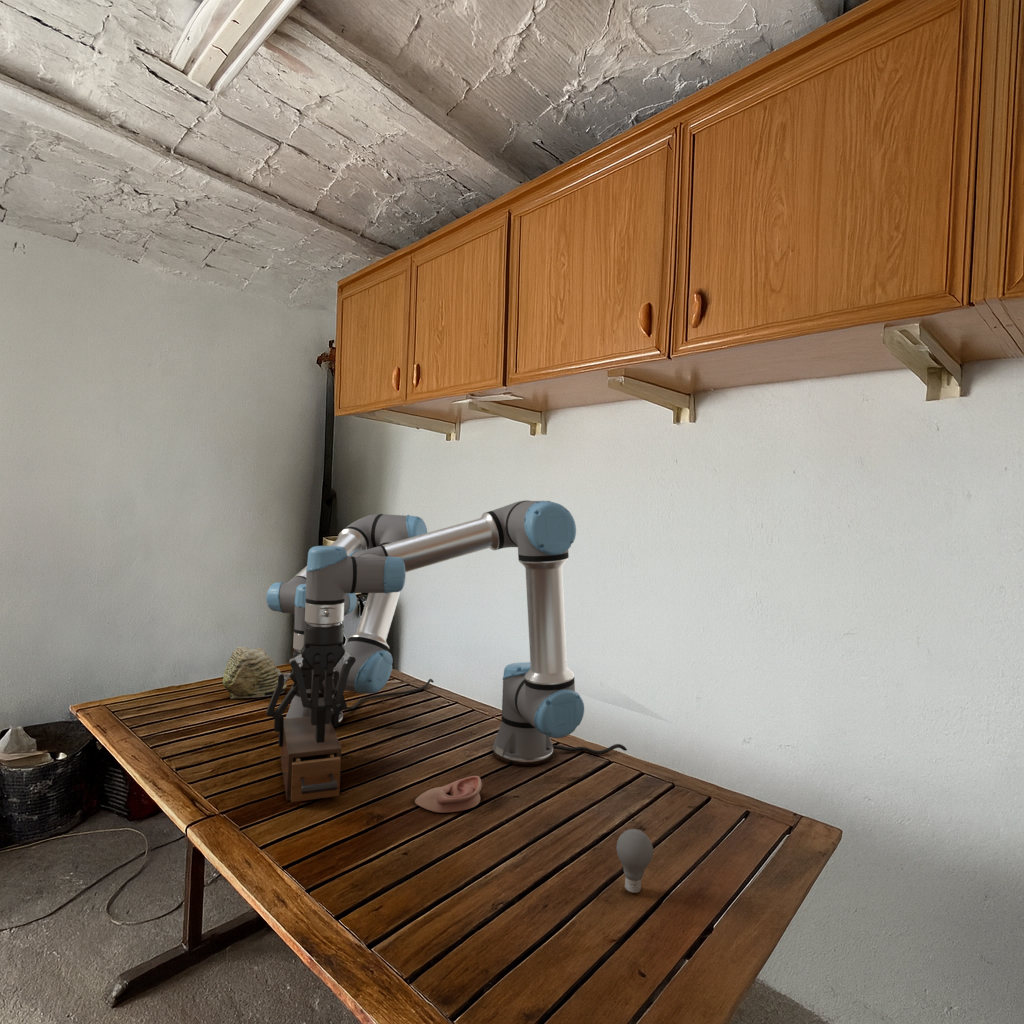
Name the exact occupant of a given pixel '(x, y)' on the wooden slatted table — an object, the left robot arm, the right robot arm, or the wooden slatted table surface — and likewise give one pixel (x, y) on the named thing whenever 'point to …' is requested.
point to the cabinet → (304, 745)
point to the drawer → (315, 777)
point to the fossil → (250, 674)
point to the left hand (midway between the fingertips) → (306, 742)
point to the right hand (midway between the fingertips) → (319, 739)
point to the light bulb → (634, 857)
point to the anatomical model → (452, 796)
